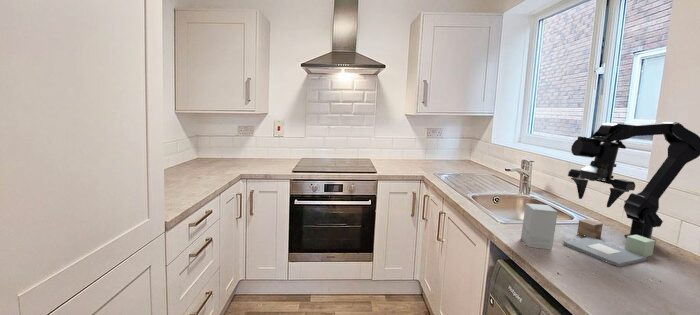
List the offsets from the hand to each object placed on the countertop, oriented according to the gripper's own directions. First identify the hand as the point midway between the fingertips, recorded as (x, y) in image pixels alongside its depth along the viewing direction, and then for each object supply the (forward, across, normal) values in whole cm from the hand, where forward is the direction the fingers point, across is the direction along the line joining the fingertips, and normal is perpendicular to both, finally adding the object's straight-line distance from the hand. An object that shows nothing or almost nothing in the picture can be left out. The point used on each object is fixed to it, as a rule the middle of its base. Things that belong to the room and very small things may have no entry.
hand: (593, 202), depth 115 cm
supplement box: (+14, 0, -25) cm, 29 cm away
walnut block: (+12, 0, +2) cm, 12 cm away
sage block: (+12, +15, +1) cm, 19 cm away
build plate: (+12, +11, -10) cm, 19 cm away
